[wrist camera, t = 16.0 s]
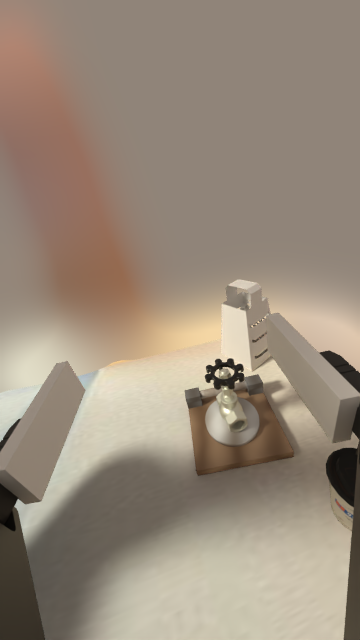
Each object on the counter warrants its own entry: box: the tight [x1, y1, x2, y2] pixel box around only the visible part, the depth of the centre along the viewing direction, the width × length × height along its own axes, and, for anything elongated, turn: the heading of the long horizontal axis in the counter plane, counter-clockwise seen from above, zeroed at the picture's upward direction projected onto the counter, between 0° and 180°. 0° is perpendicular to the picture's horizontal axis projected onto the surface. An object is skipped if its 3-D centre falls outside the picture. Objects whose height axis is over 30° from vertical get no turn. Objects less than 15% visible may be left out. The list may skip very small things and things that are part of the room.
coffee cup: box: [326, 448, 358, 531], centre depth 27 cm, size 7×7×10 cm
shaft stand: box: [185, 375, 294, 475], centre depth 42 cm, size 16×15×4 cm
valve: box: [205, 358, 248, 432], centre depth 39 cm, size 7×7×12 cm
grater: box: [221, 280, 272, 372], centre depth 56 cm, size 10×10×20 cm
